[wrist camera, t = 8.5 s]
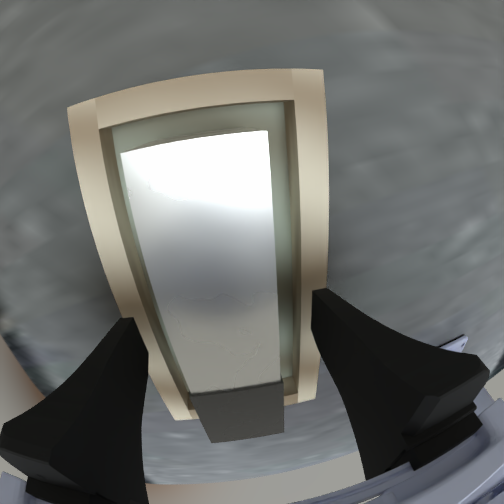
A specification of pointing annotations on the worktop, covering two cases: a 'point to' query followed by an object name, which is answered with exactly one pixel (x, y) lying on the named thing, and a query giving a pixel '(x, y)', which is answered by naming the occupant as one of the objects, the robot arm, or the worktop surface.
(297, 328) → the beige rectangular tray
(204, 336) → the grey rectangular block
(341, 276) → the worktop surface
